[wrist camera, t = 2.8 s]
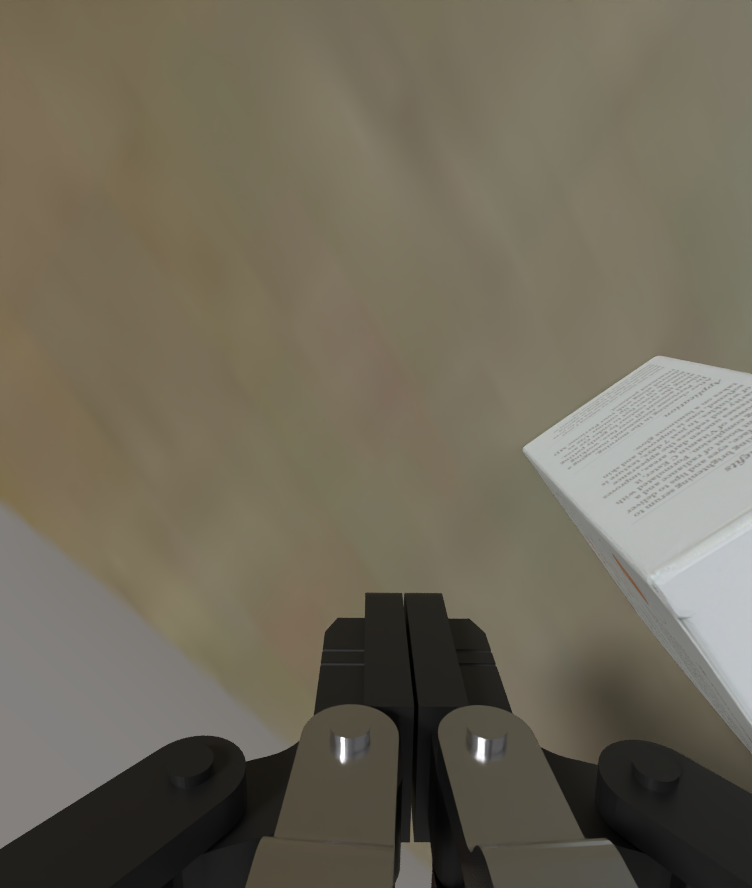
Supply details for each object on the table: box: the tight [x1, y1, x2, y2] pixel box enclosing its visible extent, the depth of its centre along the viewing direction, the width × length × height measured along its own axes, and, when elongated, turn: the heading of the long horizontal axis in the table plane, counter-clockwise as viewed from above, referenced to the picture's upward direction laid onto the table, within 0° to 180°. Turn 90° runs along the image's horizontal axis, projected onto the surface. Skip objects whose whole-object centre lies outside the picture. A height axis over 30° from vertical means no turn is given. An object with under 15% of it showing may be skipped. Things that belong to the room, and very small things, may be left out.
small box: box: [523, 356, 752, 753], centre depth 17 cm, size 8×6×10 cm
